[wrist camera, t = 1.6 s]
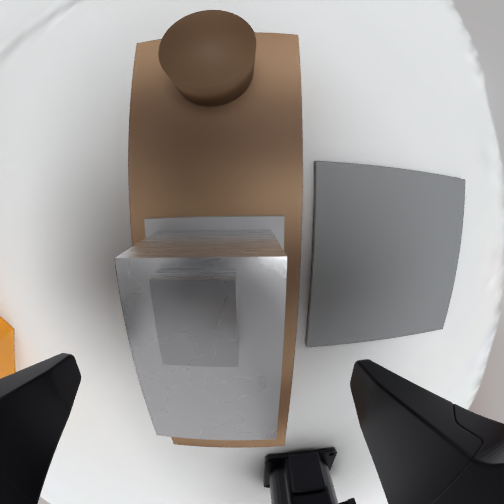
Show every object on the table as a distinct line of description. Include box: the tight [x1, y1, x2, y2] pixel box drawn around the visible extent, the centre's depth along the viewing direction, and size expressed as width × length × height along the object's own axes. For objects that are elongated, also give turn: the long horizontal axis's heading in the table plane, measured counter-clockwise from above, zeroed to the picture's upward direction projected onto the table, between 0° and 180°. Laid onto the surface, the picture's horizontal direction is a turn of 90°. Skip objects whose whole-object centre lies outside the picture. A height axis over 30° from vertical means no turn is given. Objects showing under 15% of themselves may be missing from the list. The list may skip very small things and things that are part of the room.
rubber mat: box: [305, 161, 465, 347], centre depth 16 cm, size 11×11×1 cm
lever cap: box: [115, 229, 287, 440], centre depth 9 cm, size 7×4×5 cm, turn 0°
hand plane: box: [128, 10, 303, 447], centre depth 12 cm, size 22×7×6 cm, turn 0°
